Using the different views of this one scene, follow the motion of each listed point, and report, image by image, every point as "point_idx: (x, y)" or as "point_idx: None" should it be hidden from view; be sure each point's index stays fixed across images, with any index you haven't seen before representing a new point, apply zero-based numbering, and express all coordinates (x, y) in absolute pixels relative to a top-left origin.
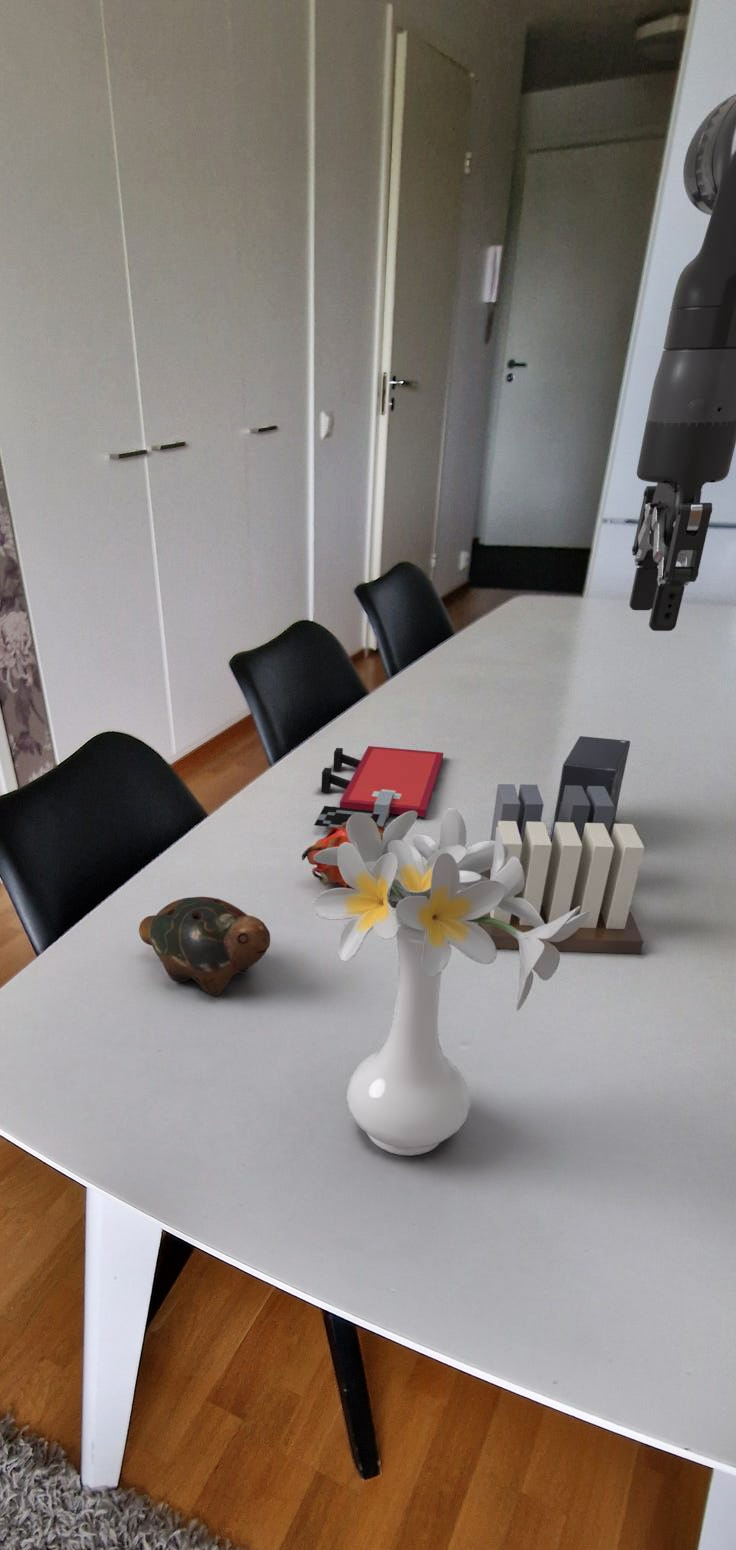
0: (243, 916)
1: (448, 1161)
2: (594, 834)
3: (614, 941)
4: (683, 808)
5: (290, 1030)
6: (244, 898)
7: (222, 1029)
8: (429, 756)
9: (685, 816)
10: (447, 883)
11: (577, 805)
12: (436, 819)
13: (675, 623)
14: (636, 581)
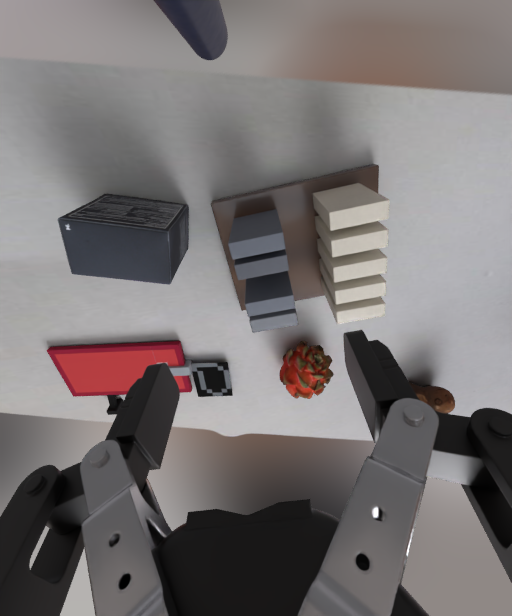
0: (442, 412)
1: None
2: (360, 248)
3: (377, 190)
4: (19, 110)
5: (462, 352)
6: (326, 399)
7: (459, 376)
8: (64, 358)
9: (43, 108)
10: None
11: (288, 266)
12: (175, 332)
13: (365, 336)
14: (167, 440)
